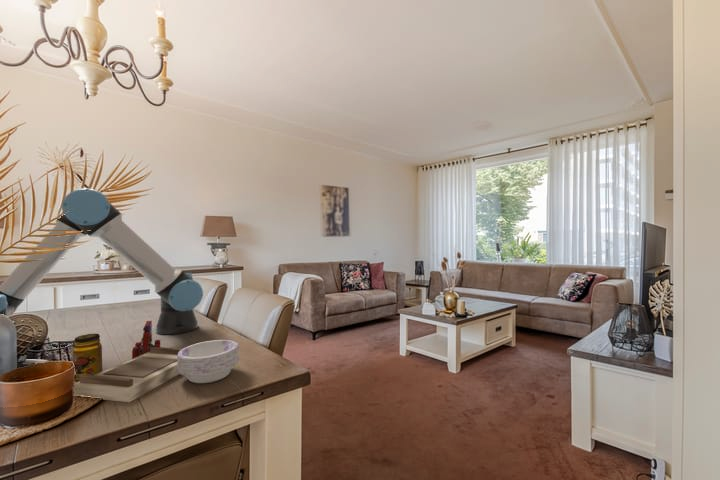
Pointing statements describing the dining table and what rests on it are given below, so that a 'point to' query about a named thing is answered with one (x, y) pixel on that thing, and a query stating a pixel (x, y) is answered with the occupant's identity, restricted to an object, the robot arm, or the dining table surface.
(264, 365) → the dining table surface
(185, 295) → the robot arm
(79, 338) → the condiment
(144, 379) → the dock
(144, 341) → the toy fire truck
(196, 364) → the paper bowls
